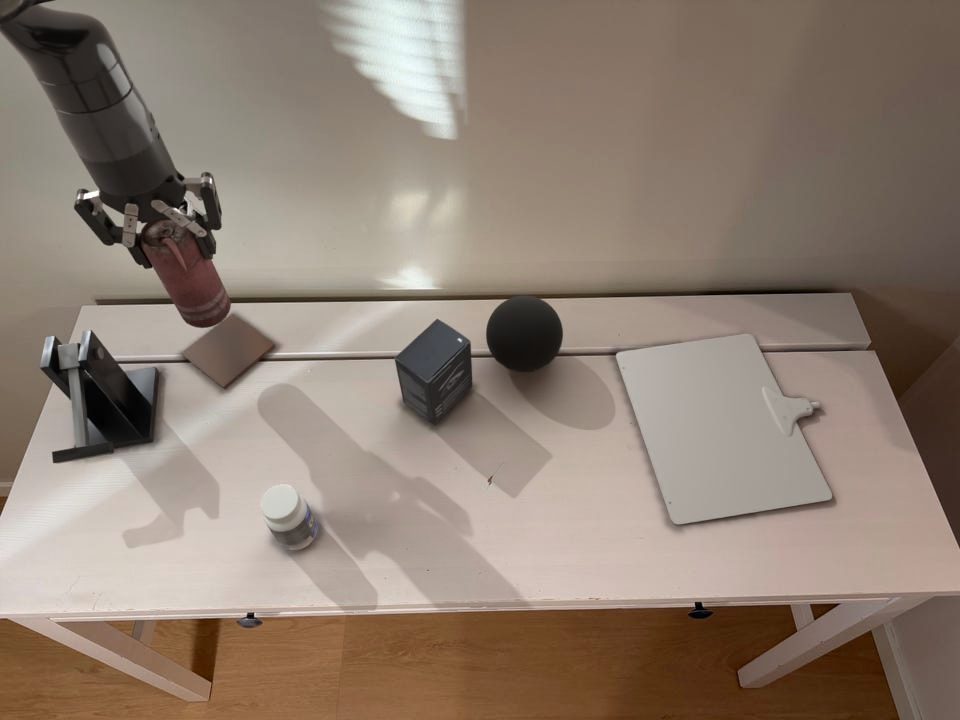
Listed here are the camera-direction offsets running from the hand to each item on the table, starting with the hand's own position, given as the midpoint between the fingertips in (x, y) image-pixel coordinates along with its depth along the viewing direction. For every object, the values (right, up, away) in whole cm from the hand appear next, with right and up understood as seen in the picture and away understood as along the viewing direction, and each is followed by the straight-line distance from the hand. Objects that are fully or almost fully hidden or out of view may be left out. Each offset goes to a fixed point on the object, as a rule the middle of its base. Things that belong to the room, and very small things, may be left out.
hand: (180, 258), depth 77 cm
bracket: (-12, -18, +9) cm, 24 cm away
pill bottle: (+14, -32, 0) cm, 34 cm away
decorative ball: (+40, -11, +14) cm, 44 cm away
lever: (-11, -17, 0) cm, 20 cm away
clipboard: (+67, -19, +8) cm, 70 cm away
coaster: (0, -11, +15) cm, 18 cm away
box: (+29, -17, +11) cm, 35 cm away
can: (0, -6, +8) cm, 10 cm away
